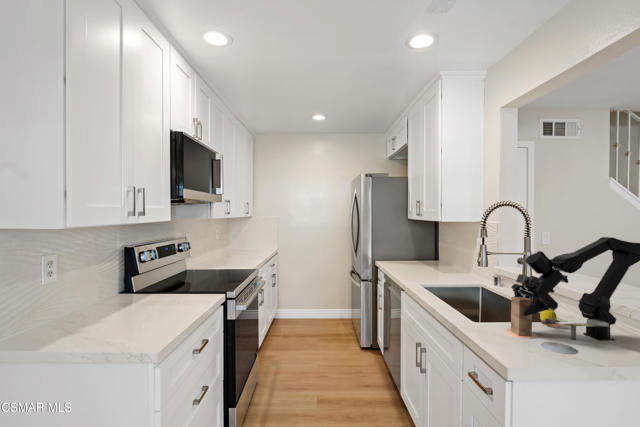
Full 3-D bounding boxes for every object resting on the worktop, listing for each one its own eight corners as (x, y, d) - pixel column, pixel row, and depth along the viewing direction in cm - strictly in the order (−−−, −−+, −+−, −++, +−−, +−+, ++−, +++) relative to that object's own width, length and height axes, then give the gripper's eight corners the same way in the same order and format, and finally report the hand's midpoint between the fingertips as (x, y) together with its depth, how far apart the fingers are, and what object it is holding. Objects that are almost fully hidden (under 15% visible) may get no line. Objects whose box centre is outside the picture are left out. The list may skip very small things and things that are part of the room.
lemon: (559, 329, 126) (559, 309, 127) (544, 328, 128) (543, 308, 128) (552, 324, 132) (552, 305, 132) (537, 323, 133) (537, 304, 133)
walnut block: (523, 331, 121) (523, 297, 121) (531, 335, 116) (532, 300, 116) (510, 330, 121) (511, 296, 121) (518, 335, 116) (519, 299, 116)
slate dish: (561, 345, 110) (561, 341, 110) (586, 357, 100) (586, 354, 100) (533, 345, 110) (533, 342, 110) (556, 358, 100) (556, 354, 100)
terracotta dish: (525, 332, 123) (525, 328, 123) (544, 342, 113) (544, 338, 113) (500, 332, 123) (500, 329, 123) (516, 342, 113) (516, 338, 113)
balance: (607, 346, 109) (607, 321, 110) (610, 352, 105) (610, 326, 105) (541, 334, 121) (541, 311, 121) (540, 339, 116) (540, 315, 116)
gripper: (515, 263, 128) (488, 290, 128) (549, 271, 109) (517, 303, 109) (535, 283, 128) (508, 310, 128) (572, 294, 109) (540, 326, 109)
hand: (517, 311), depth 118 cm, fingers open, 8 cm apart
